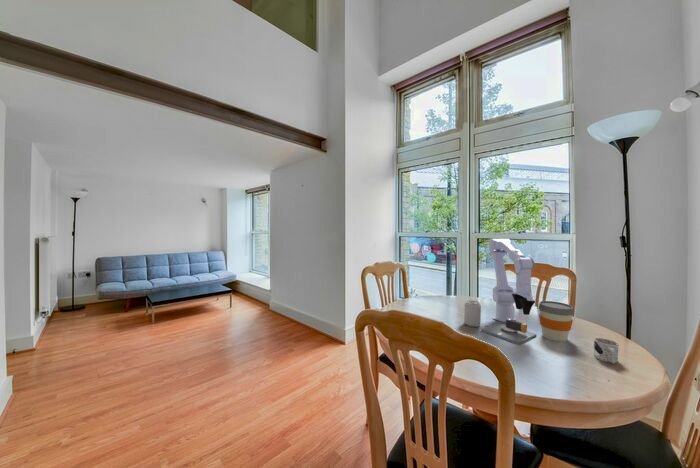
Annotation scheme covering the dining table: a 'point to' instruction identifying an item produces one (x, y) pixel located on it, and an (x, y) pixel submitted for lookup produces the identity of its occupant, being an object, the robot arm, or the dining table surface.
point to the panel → (508, 334)
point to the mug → (606, 350)
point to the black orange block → (513, 326)
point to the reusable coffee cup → (555, 320)
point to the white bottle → (472, 313)
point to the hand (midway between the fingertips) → (522, 311)
